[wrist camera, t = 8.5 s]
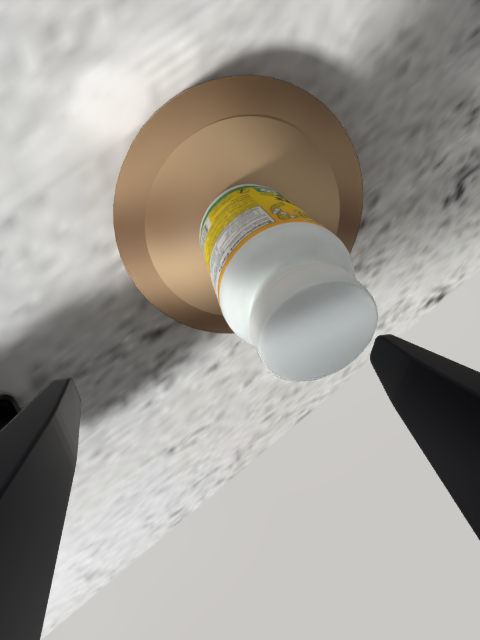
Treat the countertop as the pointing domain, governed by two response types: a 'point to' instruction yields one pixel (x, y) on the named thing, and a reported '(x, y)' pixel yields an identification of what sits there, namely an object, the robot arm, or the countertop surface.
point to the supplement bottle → (285, 283)
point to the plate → (226, 181)
